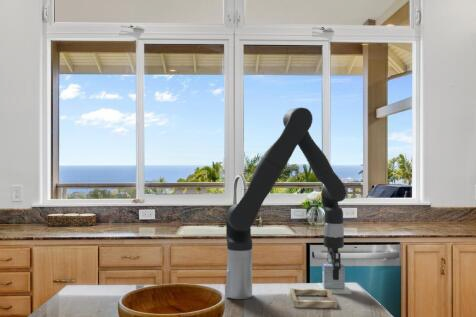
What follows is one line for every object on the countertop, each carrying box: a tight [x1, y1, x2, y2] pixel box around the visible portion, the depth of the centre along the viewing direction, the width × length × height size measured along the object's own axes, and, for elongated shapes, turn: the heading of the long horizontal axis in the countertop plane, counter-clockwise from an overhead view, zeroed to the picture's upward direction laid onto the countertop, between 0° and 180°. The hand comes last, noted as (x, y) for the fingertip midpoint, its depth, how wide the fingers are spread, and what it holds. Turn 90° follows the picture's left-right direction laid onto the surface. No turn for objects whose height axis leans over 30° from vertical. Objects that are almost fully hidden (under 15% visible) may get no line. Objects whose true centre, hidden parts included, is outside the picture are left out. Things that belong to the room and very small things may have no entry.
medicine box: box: [321, 263, 346, 289], centre depth 160 cm, size 8×4×9 cm, turn 87°
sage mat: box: [316, 282, 352, 295], centre depth 160 cm, size 11×11×1 cm
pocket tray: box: [289, 288, 338, 309], centre depth 147 cm, size 14×14×2 cm
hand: (333, 276), depth 160 cm, fingers open, 8 cm apart
